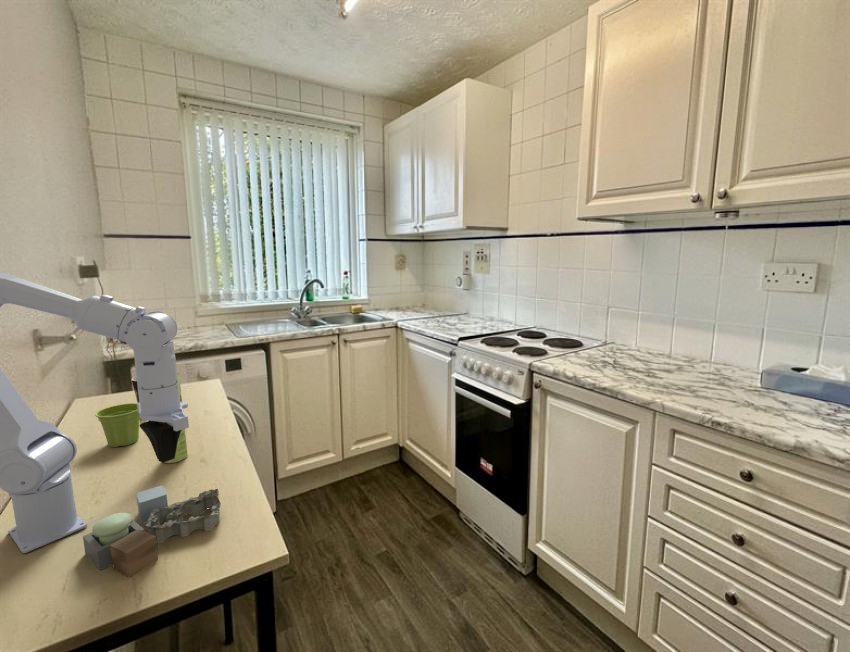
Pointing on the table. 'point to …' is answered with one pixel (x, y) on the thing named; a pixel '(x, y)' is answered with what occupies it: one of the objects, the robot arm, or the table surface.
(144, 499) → the slate-blue block
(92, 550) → the button housing
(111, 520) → the green button
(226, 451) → the table surface
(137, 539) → the walnut block
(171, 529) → the egg carton
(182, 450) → the tube
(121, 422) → the plant pot
